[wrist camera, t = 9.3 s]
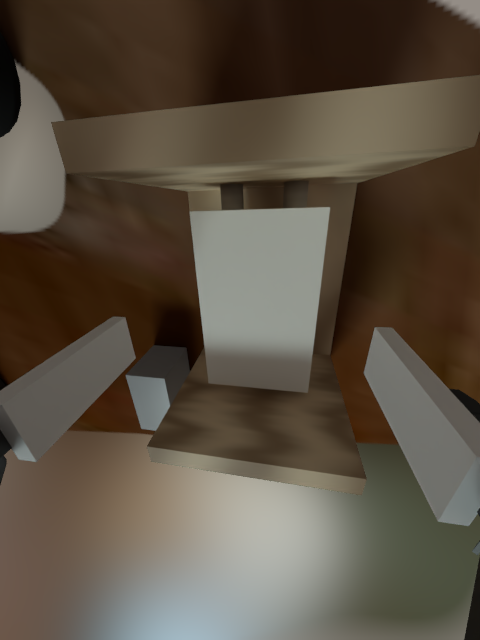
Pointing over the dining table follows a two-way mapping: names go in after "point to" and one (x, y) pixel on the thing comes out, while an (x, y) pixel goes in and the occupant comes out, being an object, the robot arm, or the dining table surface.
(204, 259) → the white flat block
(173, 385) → the block
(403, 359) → the robot arm
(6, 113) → the coffee jar
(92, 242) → the dining table surface
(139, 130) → the shelf bay
